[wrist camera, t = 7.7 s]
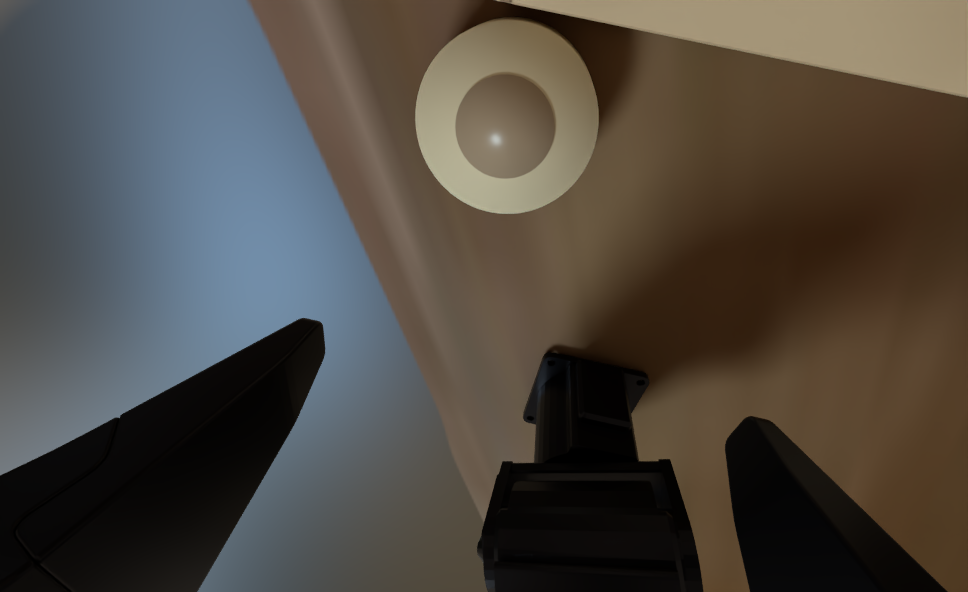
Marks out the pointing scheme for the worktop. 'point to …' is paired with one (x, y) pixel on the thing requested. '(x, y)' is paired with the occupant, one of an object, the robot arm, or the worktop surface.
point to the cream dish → (507, 115)
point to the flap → (813, 31)
